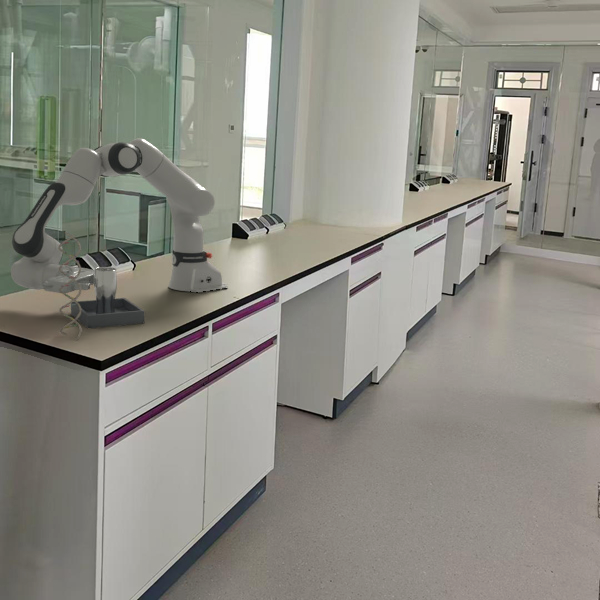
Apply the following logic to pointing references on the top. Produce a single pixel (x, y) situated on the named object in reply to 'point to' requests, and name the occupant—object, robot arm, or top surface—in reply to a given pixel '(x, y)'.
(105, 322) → the box
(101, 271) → the beer glass
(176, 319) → the top surface
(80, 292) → the dna model
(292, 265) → the top surface
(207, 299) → the top surface
